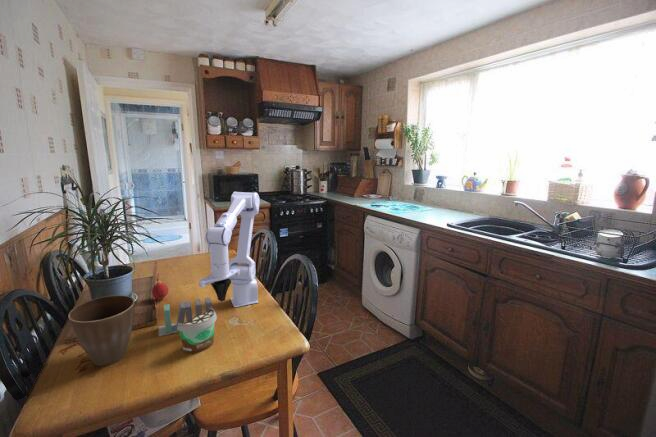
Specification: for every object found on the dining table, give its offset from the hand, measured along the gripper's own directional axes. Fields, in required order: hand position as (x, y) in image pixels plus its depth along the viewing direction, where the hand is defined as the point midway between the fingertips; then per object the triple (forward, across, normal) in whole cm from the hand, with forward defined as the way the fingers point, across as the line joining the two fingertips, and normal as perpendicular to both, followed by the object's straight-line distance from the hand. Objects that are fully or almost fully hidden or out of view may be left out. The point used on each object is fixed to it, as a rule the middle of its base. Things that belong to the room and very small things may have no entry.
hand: (221, 300), depth 107 cm
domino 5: (+9, +2, -6) cm, 11 cm away
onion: (+10, +5, -35) cm, 36 cm away
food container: (+10, +11, +6) cm, 16 cm away
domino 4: (+9, +4, -7) cm, 13 cm away
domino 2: (+9, +10, -10) cm, 17 cm away
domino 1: (+9, +13, -11) cm, 20 cm away
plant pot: (+10, +31, -10) cm, 34 cm away
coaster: (+9, +13, -11) cm, 20 cm away
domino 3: (+9, +7, -8) cm, 15 cm away
